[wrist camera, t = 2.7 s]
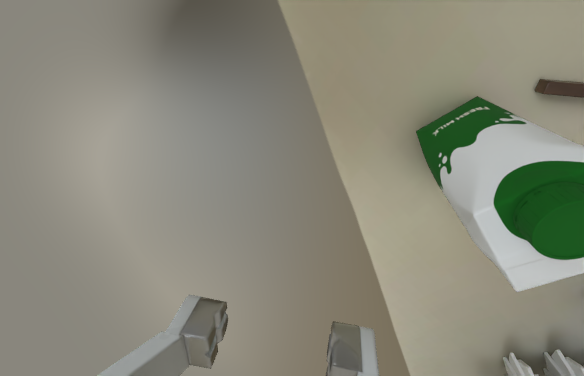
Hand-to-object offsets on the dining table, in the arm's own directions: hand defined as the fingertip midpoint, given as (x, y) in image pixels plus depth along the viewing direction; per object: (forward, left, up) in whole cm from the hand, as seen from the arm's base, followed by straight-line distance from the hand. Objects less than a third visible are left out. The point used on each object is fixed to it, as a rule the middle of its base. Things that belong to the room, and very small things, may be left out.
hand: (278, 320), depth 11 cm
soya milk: (0, +16, -27) cm, 32 cm away
